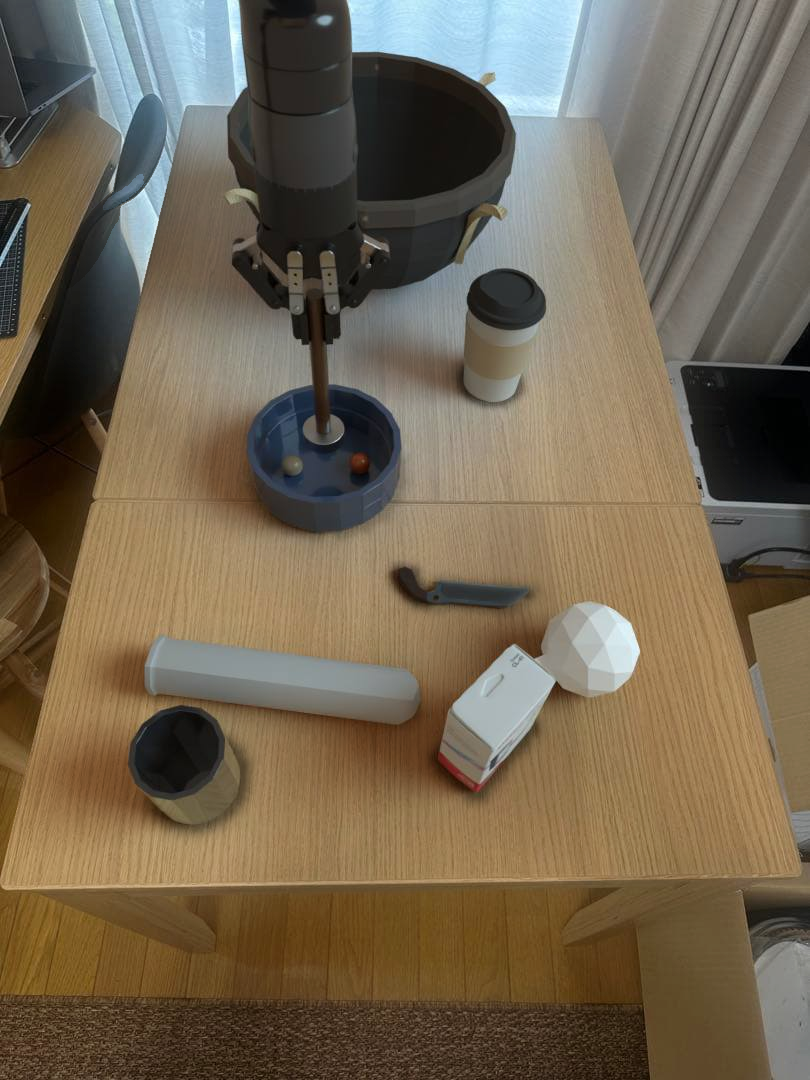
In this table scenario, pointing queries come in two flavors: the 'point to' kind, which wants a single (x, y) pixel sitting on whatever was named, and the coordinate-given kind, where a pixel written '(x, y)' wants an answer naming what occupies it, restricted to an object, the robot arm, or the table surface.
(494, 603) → the knife
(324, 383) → the brown handled pestle
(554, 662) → the light bulb
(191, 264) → the table surface
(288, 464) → the bead
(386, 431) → the mixing bowl
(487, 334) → the coffee cup
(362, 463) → the bead
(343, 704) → the tube
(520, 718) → the ink box
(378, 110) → the bowl
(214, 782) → the holder
